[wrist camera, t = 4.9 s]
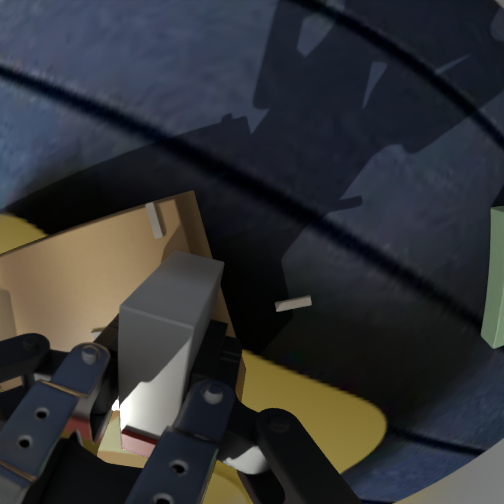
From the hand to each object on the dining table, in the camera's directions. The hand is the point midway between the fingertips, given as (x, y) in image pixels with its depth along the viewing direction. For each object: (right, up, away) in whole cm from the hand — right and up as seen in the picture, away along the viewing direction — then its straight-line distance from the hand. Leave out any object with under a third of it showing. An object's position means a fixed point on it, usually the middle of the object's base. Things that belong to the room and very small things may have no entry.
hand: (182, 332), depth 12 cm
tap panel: (-5, 0, +4) cm, 7 cm away
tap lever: (0, 0, +1) cm, 1 cm away
